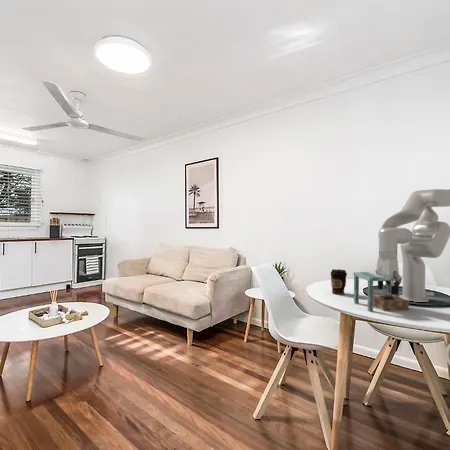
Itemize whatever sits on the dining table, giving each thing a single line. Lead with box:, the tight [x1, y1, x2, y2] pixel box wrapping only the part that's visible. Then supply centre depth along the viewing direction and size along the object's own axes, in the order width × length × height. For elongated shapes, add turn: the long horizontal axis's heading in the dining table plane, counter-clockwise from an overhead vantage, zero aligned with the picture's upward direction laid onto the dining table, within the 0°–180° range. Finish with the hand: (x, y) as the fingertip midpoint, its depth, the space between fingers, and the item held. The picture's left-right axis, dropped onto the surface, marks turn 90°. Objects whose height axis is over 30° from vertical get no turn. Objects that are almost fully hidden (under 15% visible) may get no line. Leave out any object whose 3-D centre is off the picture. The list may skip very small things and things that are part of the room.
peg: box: [382, 280, 394, 300], centre depth 134 cm, size 4×4×12 cm
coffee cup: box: [330, 268, 348, 296], centre depth 157 cm, size 9×8×13 cm
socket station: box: [353, 271, 410, 312], centre depth 133 cm, size 19×13×15 cm
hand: (387, 291), depth 134 cm, fingers open, 9 cm apart
